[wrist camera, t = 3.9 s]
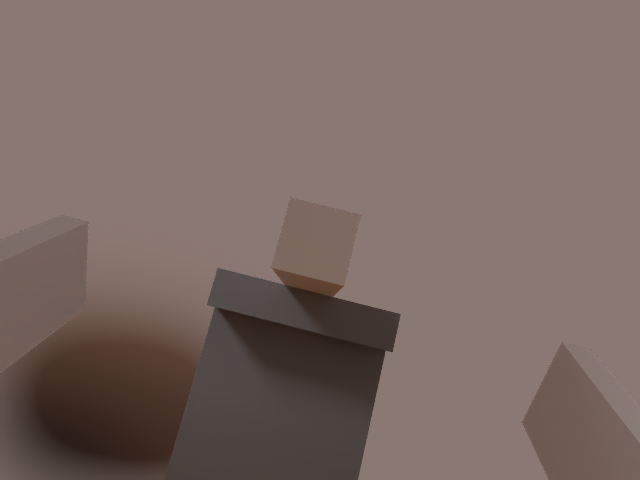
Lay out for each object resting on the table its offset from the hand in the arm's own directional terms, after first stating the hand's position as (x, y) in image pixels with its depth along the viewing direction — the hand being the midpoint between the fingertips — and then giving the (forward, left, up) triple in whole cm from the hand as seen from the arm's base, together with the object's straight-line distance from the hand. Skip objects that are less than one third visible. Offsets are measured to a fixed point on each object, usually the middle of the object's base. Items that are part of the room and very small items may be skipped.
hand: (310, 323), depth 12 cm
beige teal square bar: (-10, +9, +1) cm, 13 cm away
